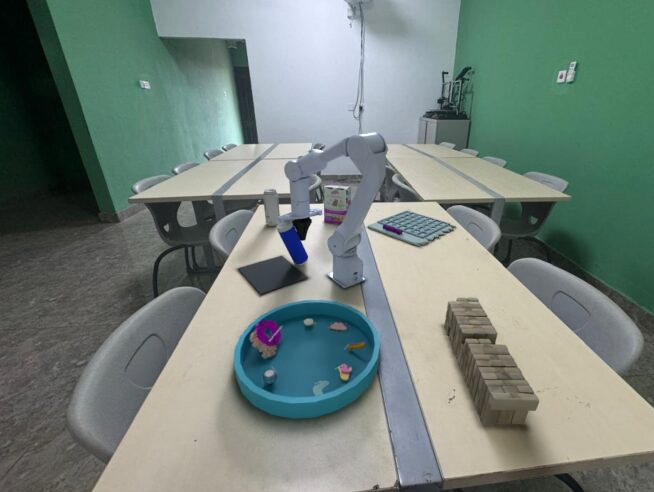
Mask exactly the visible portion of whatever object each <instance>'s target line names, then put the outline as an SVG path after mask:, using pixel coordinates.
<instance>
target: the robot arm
mask: <svg viewBox="0 0 654 492" xmlns="http://www.w3.org/2000/svg"><path fill="white" fill-rule="evenodd" d="M387 144H388V143H387V142H386V139H385V137H384V136H383V135H382V134H381V133H379V132H376V131H374V132H373V131H372V132H370V133H363V134H353V135H350V136H349V137H345V138H343V139H341V140H339V141H338V142H336V143H334V144H333V145H331V146H329V147H327V148H326V149H324V150H321V149H315V148H311V149H309V150H308V153H306V154H305V155H299V156H297V159H296V160H295V159H294V160H288V161H287V162H286V163H285V165H284V167H283V169H284V170H283V171H284V175H285V177H286V178H287V180H288V181H289V197H290V212H287V213H285V214H282V215H280V216H278V222H279V223H280V224H284V223H285V222H290V221H291V222H292V223H293V225H294V227H295V229H296V231H297V233H298V236H299V238H300V240H301V242H303V241H306V239H307V235H308V231H309V229H310V227H311V225H312V223H313V219H312V217H316V216H318V217H319V216H320V217H321V216H323V209H322V208H320V207H317V208H311V203H310V182H311V177H312V176H313V175H314V174H317V173H319V172H321V171H323V170H325V169H327V167H328V163H330V162H332V161H334V160H336V159H339V158H342V157H345V158H348V157H349V159H350V160H351V162H352V163H353V165H354V166H355V167H356V169H357V170H358V171H359V172H360V174H361V179H360V181H359V184H358V186H357V189H356V190H355V192H354V195H353V197H352V198H351V204H350V206H349V209H348V211H347V213H346V215H345V218H344V220H343V222H342V224H341V225H338V227H337V228H336V229H335V230H334V232H333V234H331V235H330V236H328V238H327V242H326V244H327V245H326V246H327V249H328V250H329V252H330V254H331V255H332V271H331V272H329V273H327V275H326V276H327V277H328V278H330V279H331V280H332V281H334V282H335V283H336V284H338V285H339V286H340V287H342V288H343V289H347V288H350V287H352V286H354V285H357V284H359V283H361V282H364V281H365V280H366V278H365V277H364V262H363V260H362V259H361V258H360V257H359V255H358V252H357V250H358V246H359V245H360V244H361V243H362V234H363V231H364V229H363V227H362V225H363V224H364V222H365V220H366V218H367V215H368V213H369V211H370V209H371V207H372V205H373V203H374V202H375V201H374V200H375V199H376V197H377V194H378V193H379V191H380V188H381V187H382V184H383V182H384V180H385V178H386V176H387V175H386V173H387V171H386V170H387V165H386V164H387V157H386V156H387V154H388V152H389V147H388V145H387Z"/></svg>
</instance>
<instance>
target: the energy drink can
mask: <svg viewBox="0 0 654 492" xmlns="http://www.w3.org/2000/svg"><path fill="white" fill-rule="evenodd" d="M262 199H263V209H264V219H265V224H266V225H267V226H268V227H277V225H278V224H279V222H278V216H281V213H280V203H279V202H280V201H279V193H278V192H277V189H275V188H266V189H264V190H263V194H262Z"/></svg>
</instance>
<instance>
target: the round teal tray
mask: <svg viewBox="0 0 654 492" xmlns="http://www.w3.org/2000/svg"><path fill="white" fill-rule="evenodd" d="M233 353H234V354H233V368H234V373H235V377H236V381H237V384H238V386H239V389H240V391H241V394H242V395H243V396H244V397H245V399H247V400H248V402H250V403H251V405H253V407H255V408H257V409H259V410H261V411H263V412H265V413H267V414H269V415H270V416H276V417H282V418H287V419H292V420H295V419H312V418H313V419H314V418H318V417H322V416H324V415H327V414H331V413H335V412H338V411H340V410H341V409H343V408H344V407H347V406H348V405H350V404H351V403H353V402H355V401H357V399H359V398H360V397H361V396H362V394H364V392H365V391H367V389H369V388H370V386H371V384H372V382H373V380H374V378H375V376H377V373H378V368H379V363H380V354H381V342H380V336H379V332H378V330H377V328H376V326H375V325H374V322H373V321H372V320H371V319H370V318H369V317H368V316H367V315H366V314H364V312H363V311H360V310H359V309H357V308H355V307H353V306H351V305H348V304H345V303H342V302H340V301H335V300H327V299H305V300H299V301H293V302H289V303H286V304H283V305H280V306H277V307H274V308H272V309H270V310H268V311H267V312H265V313H263V314H261V315H260V316H259V317H257V318H256V319H255V320H253V321H252V322H251V323H250V324H248V326H247V327H246V328H245V329H244V331H243V332H242V333H241V335H240V336H239V337H238V340H237V342H236V345H235V347H234V350H233Z"/></svg>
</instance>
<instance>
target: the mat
mask: <svg viewBox="0 0 654 492" xmlns="http://www.w3.org/2000/svg"><path fill="white" fill-rule="evenodd" d="M237 270H238V271H239V272H240V273H241V274H242V276H243V277H244V278H245V279H246V280H247V281H248V282H249V284H250V285H251V286H252V287H253V288H254V289H255V290H256V292H257V293H259V295H260V296H262V295H265V294H268V293H271V292H273V291H276V290H280V289H282V288H284V287H288V286H291V285H294V284H297V283H298V282H301V281H305V280H308V279H309V277H308V276H307V275H306V274H304V273H303V272H302V271H301V270H300V269H299V268H297V267H296V266H295V265H294V264H292V263H291V262H290V261H289V260H287V259H286V257H284V255H279V256H276V257H272V258H268V259H265V260H261V261H258V262H254V263H251V264H248V265H245V266H240V267H238V268H237Z"/></svg>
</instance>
